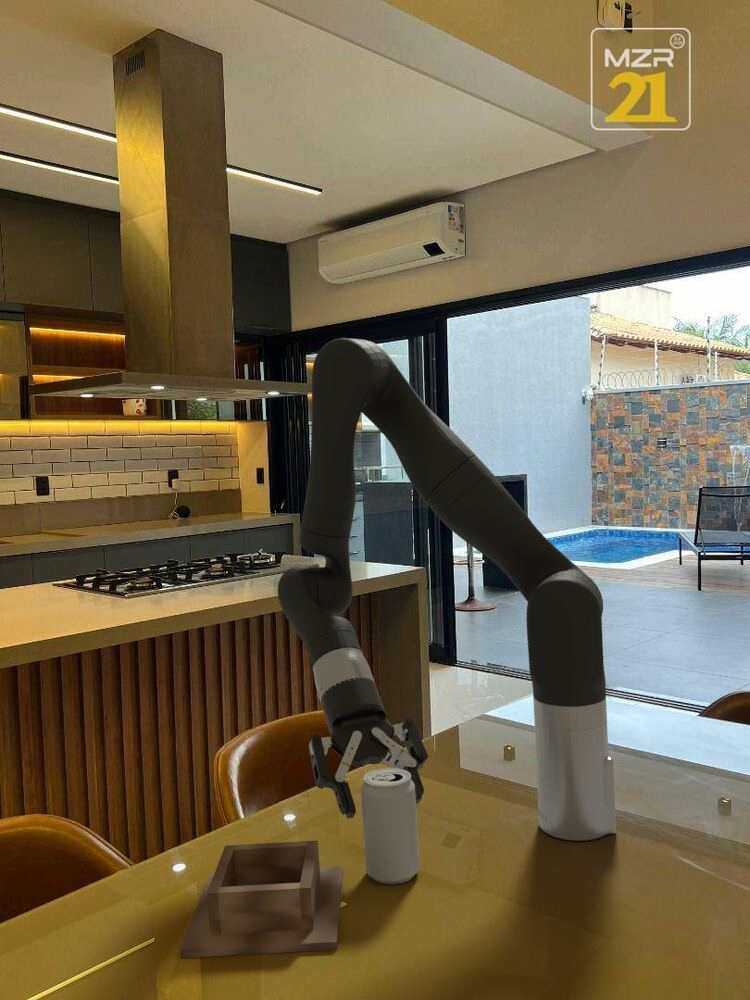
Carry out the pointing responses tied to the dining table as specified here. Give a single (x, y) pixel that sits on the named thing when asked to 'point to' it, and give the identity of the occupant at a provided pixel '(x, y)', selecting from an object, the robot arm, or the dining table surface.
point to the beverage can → (390, 825)
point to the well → (267, 902)
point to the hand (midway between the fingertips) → (385, 808)
